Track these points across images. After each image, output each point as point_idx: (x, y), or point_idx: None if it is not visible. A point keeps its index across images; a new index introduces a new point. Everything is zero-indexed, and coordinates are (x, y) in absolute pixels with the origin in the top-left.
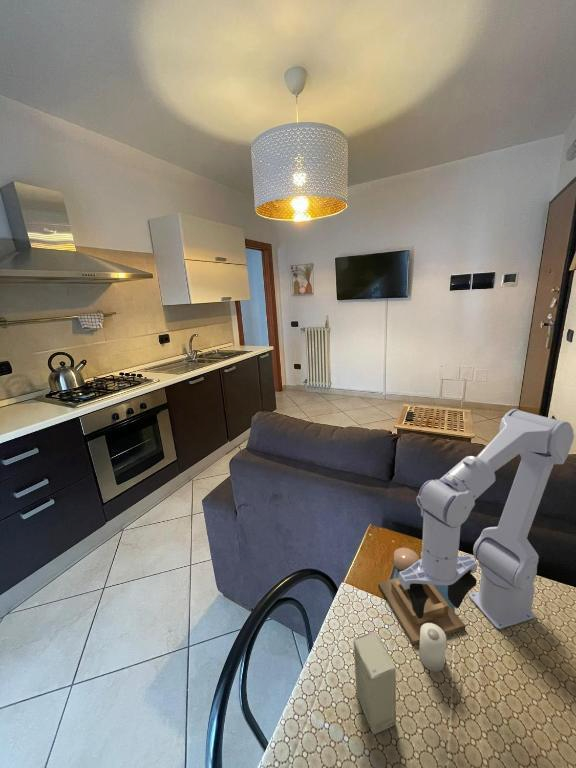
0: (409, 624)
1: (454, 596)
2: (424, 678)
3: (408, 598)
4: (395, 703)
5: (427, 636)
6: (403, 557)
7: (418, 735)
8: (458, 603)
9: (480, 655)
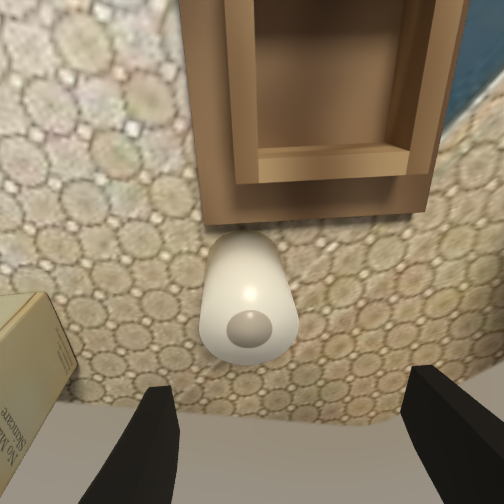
0: (223, 163)
1: (445, 461)
2: (193, 300)
3: (289, 33)
4: (39, 428)
5: (221, 331)
6: None
7: (125, 380)
8: (427, 467)
9: (387, 279)
